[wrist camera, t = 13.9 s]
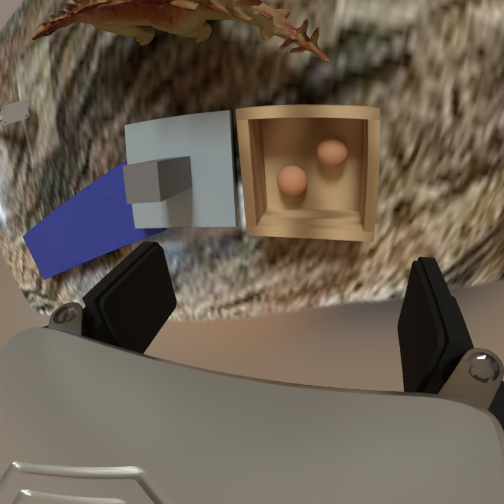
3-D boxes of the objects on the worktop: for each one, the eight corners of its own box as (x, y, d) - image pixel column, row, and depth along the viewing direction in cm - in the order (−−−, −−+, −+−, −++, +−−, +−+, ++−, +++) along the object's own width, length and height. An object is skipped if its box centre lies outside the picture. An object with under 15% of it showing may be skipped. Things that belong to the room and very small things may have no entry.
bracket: (29, 117, 33) (-25, 136, 27) (19, 124, 46) (-19, 138, 39) (28, 98, 32) (-27, 117, 25) (18, 111, 44) (-21, 124, 37)
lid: (231, 111, 29) (206, 100, 21) (237, 224, 33) (216, 253, 25) (129, 125, 31) (81, 125, 22) (139, 226, 35) (97, 251, 27)
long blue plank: (33, 230, 49) (52, 274, 51) (22, 235, 46) (42, 280, 49) (141, 155, 34) (170, 227, 37) (125, 158, 32) (157, 235, 34)
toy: (316, 79, 28) (334, 68, 15) (74, 45, 27) (-9, 47, 14) (337, 13, 24) (366, -37, 11) (89, -10, 23) (12, -27, 10)
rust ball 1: (308, 163, 29) (305, 169, 27) (308, 191, 31) (306, 200, 28) (278, 162, 30) (273, 169, 27) (280, 190, 31) (275, 199, 29)
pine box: (370, 106, 25) (379, 108, 20) (367, 217, 31) (373, 241, 26) (253, 106, 28) (235, 109, 23) (261, 212, 34) (247, 235, 29)
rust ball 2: (347, 135, 27) (349, 138, 24) (347, 164, 28) (348, 171, 26) (317, 134, 27) (315, 137, 25) (317, 163, 29) (316, 170, 26)
